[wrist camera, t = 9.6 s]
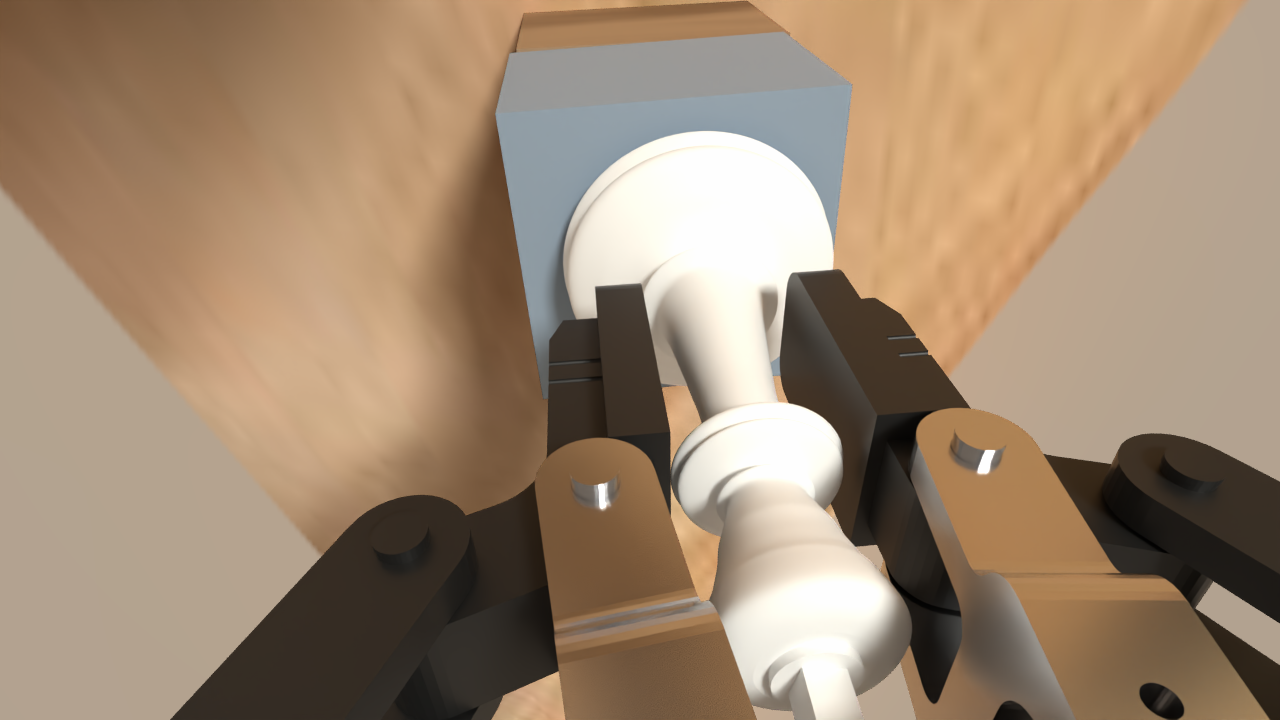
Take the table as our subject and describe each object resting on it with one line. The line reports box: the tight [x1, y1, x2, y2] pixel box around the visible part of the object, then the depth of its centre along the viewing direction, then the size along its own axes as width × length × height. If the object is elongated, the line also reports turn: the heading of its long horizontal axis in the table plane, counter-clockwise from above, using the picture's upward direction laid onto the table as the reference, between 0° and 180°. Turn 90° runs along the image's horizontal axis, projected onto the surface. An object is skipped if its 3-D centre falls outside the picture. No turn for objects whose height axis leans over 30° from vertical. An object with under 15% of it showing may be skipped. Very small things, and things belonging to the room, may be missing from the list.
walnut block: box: [516, 1, 790, 52], centre depth 19 cm, size 6×6×4 cm
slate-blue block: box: [495, 32, 852, 399], centre depth 16 cm, size 6×6×4 cm
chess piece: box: [563, 131, 912, 720], centre depth 9 cm, size 5×5×10 cm
